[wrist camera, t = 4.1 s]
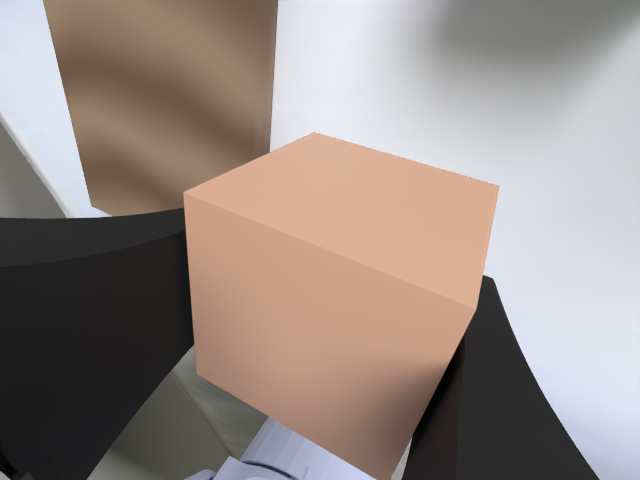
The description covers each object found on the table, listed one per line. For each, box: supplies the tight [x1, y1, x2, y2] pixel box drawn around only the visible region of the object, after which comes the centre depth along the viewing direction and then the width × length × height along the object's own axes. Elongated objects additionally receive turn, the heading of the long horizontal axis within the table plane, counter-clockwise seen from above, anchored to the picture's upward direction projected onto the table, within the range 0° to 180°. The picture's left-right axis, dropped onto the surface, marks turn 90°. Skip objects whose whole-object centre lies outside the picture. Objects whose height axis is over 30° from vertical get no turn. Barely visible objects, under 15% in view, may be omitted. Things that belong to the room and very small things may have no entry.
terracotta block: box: [183, 132, 499, 480], centre depth 9 cm, size 5×5×5 cm
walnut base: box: [43, 0, 278, 216], centre depth 20 cm, size 18×14×2 cm
